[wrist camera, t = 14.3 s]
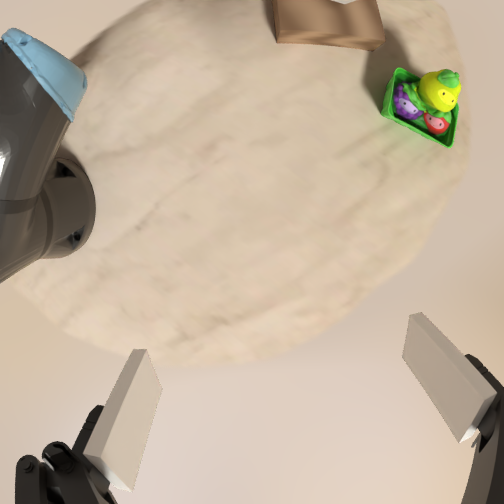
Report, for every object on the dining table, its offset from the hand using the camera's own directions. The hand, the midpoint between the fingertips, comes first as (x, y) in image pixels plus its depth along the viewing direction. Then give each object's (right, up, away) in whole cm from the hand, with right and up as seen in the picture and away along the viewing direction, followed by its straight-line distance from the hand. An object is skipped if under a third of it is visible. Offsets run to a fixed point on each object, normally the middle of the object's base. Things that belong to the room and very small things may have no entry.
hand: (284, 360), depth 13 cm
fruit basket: (+21, +26, +21) cm, 40 cm away
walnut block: (+8, +40, +16) cm, 44 cm away
